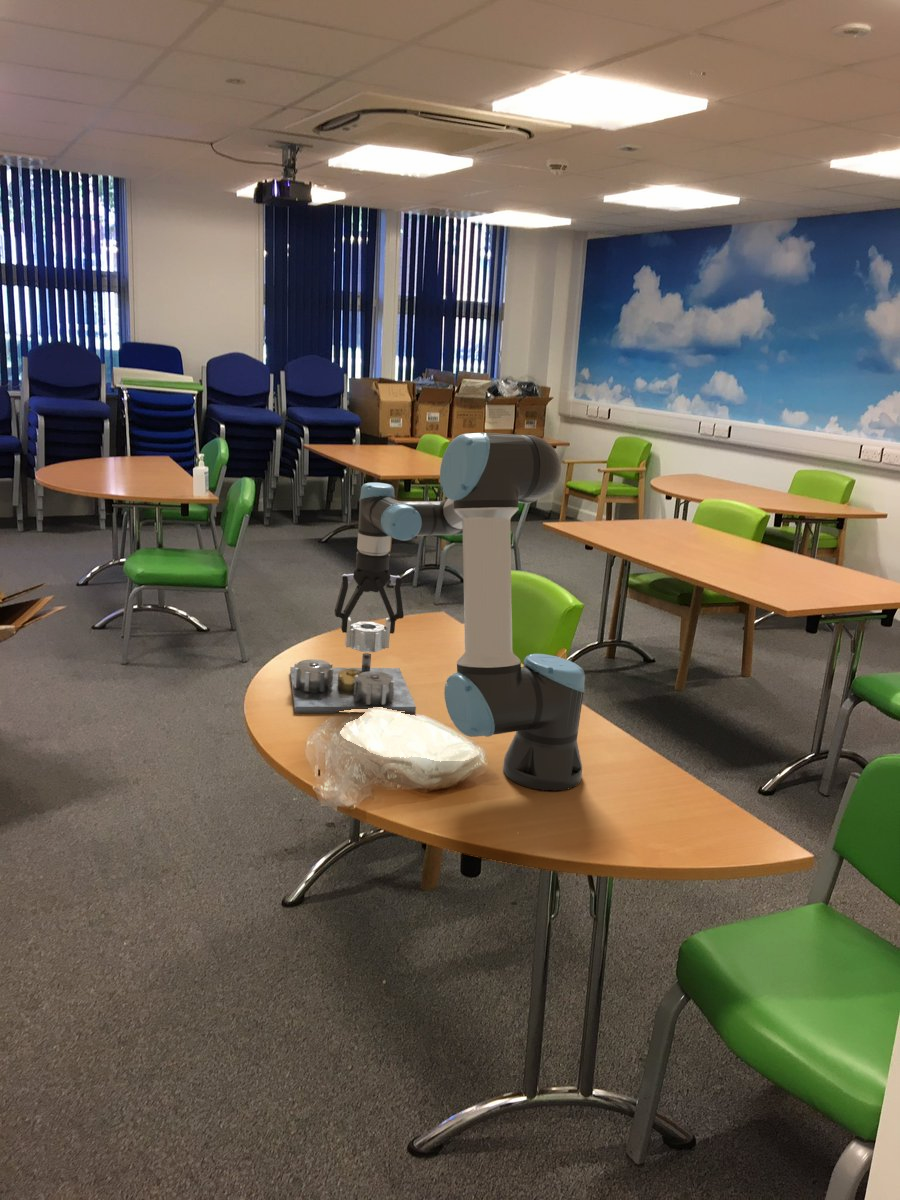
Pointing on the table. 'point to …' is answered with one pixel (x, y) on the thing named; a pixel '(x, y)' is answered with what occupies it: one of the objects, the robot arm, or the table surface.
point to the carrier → (347, 687)
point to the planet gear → (368, 636)
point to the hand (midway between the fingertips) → (366, 645)
